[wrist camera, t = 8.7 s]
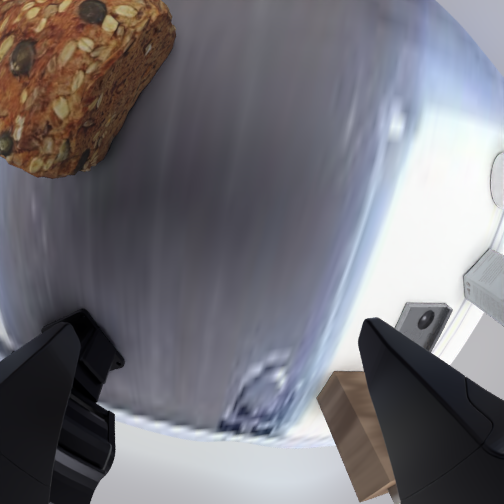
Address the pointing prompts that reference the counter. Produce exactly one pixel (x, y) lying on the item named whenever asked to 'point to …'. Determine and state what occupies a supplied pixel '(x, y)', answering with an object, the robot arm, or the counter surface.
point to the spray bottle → (498, 181)
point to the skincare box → (487, 285)
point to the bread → (74, 77)
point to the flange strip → (424, 322)
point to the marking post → (358, 435)
